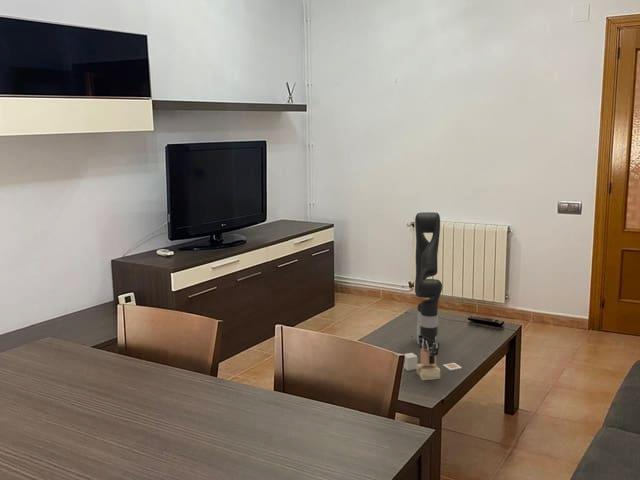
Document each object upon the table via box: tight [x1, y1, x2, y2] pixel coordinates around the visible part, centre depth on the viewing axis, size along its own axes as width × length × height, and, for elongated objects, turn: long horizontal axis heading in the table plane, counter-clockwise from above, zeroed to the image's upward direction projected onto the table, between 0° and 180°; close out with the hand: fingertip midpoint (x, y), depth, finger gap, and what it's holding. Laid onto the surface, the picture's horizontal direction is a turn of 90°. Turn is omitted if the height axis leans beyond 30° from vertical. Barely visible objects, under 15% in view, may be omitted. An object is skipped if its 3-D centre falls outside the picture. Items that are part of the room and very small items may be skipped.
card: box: [442, 362, 462, 371], centre depth 282 cm, size 6×6×1 cm
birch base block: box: [416, 363, 441, 381], centre depth 273 cm, size 8×8×4 cm
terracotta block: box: [420, 347, 438, 366], centre depth 271 cm, size 5×5×6 cm
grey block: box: [403, 352, 419, 372], centre depth 281 cm, size 5×5×6 cm
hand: (428, 361), depth 272 cm, fingers closed on terracotta block, 4 cm apart
